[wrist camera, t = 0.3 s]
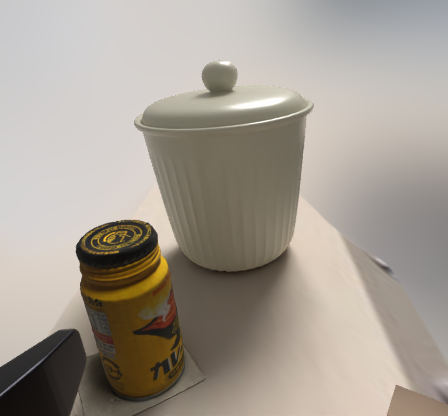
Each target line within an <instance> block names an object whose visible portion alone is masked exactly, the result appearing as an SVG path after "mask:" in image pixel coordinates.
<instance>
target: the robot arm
mask: <svg viewBox="0 0 448 416" xmlns="http://www.w3.org/2000/svg"><path fill="white" fill-rule="evenodd" d="M86 362H87V358H86V353H85V350H84V347H83V343H82V340H81V337H80V334H79V332H78V331H77V330H76V329H63V330H59V331H57V332H55V333H54V334H52V335H51V336H49V337H47V338H46V339H44V340H43V341H41V342H39V343H38V344H36V345H35V346H33V347H32V348H30V349H28V350H27V351H25V352H24V353H22V354H21V355H19V356H17V357H16V358H14V359H13V360H11V361H9V362H8V363H6V364H5V365H3V366H1V367H0V416H70V414H71V411H72V407H73V404H74V401H75V398H76V395H77V392H78V389H79V386H80V383H81V380H82V376H83V373H84V370H85V367H86Z"/></svg>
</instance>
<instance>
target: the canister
mask: <svg viewBox="0 0 448 416" xmlns="http://www.w3.org/2000/svg"><path fill="white" fill-rule="evenodd" d="M202 80H203V83H204V85H205V87H206V88H207V90H200V91H194V92H189V93H184V94H179V95H175V96H171V97H168V98H165V99H162V100H159V101H157V102H155V103H153V104H152V105H150V106H149V107H148V108H147V109H146V110H145V111H144V113H143V114H142V115H140V116H138V117H137V118H136V119H135V121H134V125H135V126H136V128H137V129H138V130H140V131H142V132H143V134H144V137H145V141H146V145H147V148H148V152H149V155H150V159H151V162H152V165H153V169H154V172H155V175H156V178H157V182H158V185H159V189H160V192H161V195H162V199H163V202H164V205H165V208H166V212H167V215H168V218H169V221H170V224H171V227H172V230H173V233H174V236H175V238H176V241H177V243H178V245H179V247H180V249H181V250H182V252H183V253H184V255H185V256H186V257H188V258H189V260H191V261H192V262H194V263H195V264H197V265H199V266H202V267H204V268H209V269H211V270H218V271H227V272H230V271H236V272H237V271H241V270H244V271H246V270H248V269H254V268H256V267H261V266H263V265H264V264H268V263H270V262H271V261H273V260H275V259H276V258H277V257H279V256H280V255H281V254H282V253H283V252H284V251H285V250H286V249H287V247H288V245H289V243H290V241H291V239H292V236H293V233H294V227H295V221H296V214H297V206H298V198H299V189H300V180H301V169H302V159H303V149H304V140H305V139H304V138H305V127H306V116H307V115H308V114H309V113H310V112H311V111H312V109H313V107H314V104H313V102H312V101H311V100H309V99H307V98H303V97H302V96H301V95H300V94H299V93H298V92H296V91H294V90H291V89H288V88H283V87H275V86H235V84H236V81H237V69H236V68H235V66H234V65H233V64H232V63H230V62H228V61H214V62H211V63H209V64H207V65H206V66H205V67H204V69H203V71H202ZM234 86H235V87H234Z"/></svg>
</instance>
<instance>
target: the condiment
mask: <svg viewBox="0 0 448 416" xmlns="http://www.w3.org/2000/svg"><path fill="white" fill-rule="evenodd" d="M76 254H77V257H78V259H79V262H80V272H81V274H82V279H81V282H80V290H81V295H82V297H83V300H84V304H85V307H86V310H87V313H88V316H89V320H90V323H91V326H92V331H93V333H94V337H95V340H96V343H97V348H98V350H99V353H97V354H95V355H92V356H89V357H86V358H87V362H86V367H85V370H84V373H83V376H82V380H81V383H80V386H79V393H80V398H81V402H82V406H83V411H84V415H85V416H133V415H134V414H136V413H139V412H141V411H143V410H145V409H147V408H150V407H152V406H154V405H156V404H158V403H160V402H162V401H164V400H166V399H168V398H170V397H172V396H174V395H176V394H178V393H180V392H182V391H184V390H185V389H187V388H189V387H192V386H193V385H195V384H197V383H199V382H201V381H202V380H203V379H204V378H205V377H204V375H203V374H202V372H201V371H200V369H199V368H198V366H197V365H196V363H195V362H194V360H193V359H192V357H191V356H190V354H189V353H188V351H187V350H186V348H185V346H184V345H183V343H182V336H181V331H180V326H179V321H178V315H177V308H176V304H175V300H174V295H173V290H172V283H171V276H170V275H171V273H170V272H169V268H168V264H167V262H166V259H165V258H164V257H163V256H161V251H160V247H159V245H158V235H157V233H156V231H155V230H154V228H153V227H152V226H151V225H150V224H149V223H145V222H143V221H140V220H121V221H116V222H111V223H106V224H103V225H101V226H98V227H96V228H94V229H92V230H90V231H89V232H87V233H86V234H85V235H84V236H83V237H82V238H81V239H80V241H79V242H78V243H77V245H76ZM110 399H115V401H110ZM117 399H119V400H120V401H119V402H118V401H116V400H117Z"/></svg>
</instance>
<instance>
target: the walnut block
mask: <svg viewBox="0 0 448 416" xmlns="http://www.w3.org/2000/svg"><path fill="white" fill-rule="evenodd" d="M387 416H448V404H445V403H443V402H440V401H437V400H435V399H432V398H429V397H427V396H424V395H422V394H419V393H416V392H414V391H411V390H408V389H406V388H403V387H401V386H398V385H396V387H395V390H394V393H393V397H392V400H391V403H390V407H389V410H388V413H387Z"/></svg>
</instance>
